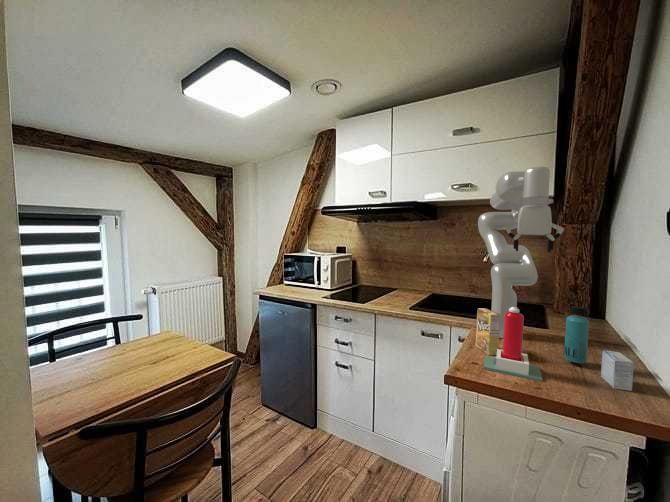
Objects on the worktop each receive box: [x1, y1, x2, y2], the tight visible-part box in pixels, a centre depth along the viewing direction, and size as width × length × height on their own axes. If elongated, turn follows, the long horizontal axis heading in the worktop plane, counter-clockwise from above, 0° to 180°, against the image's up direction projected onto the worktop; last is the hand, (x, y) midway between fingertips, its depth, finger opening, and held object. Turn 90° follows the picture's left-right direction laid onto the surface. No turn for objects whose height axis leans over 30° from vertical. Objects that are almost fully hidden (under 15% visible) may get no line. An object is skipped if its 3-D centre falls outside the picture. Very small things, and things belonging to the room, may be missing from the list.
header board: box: [483, 349, 543, 383], centre depth 99 cm, size 10×16×4 cm, turn 60°
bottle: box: [502, 306, 525, 361], centre depth 98 cm, size 5×5×20 cm
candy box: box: [475, 307, 501, 356], centre depth 113 cm, size 9×4×15 cm, turn 6°
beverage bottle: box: [563, 305, 590, 364], centre depth 103 cm, size 6×7×20 cm
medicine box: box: [600, 350, 635, 392], centre depth 89 cm, size 8×4×9 cm, turn 158°
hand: (532, 251), depth 107 cm, fingers open, 9 cm apart
